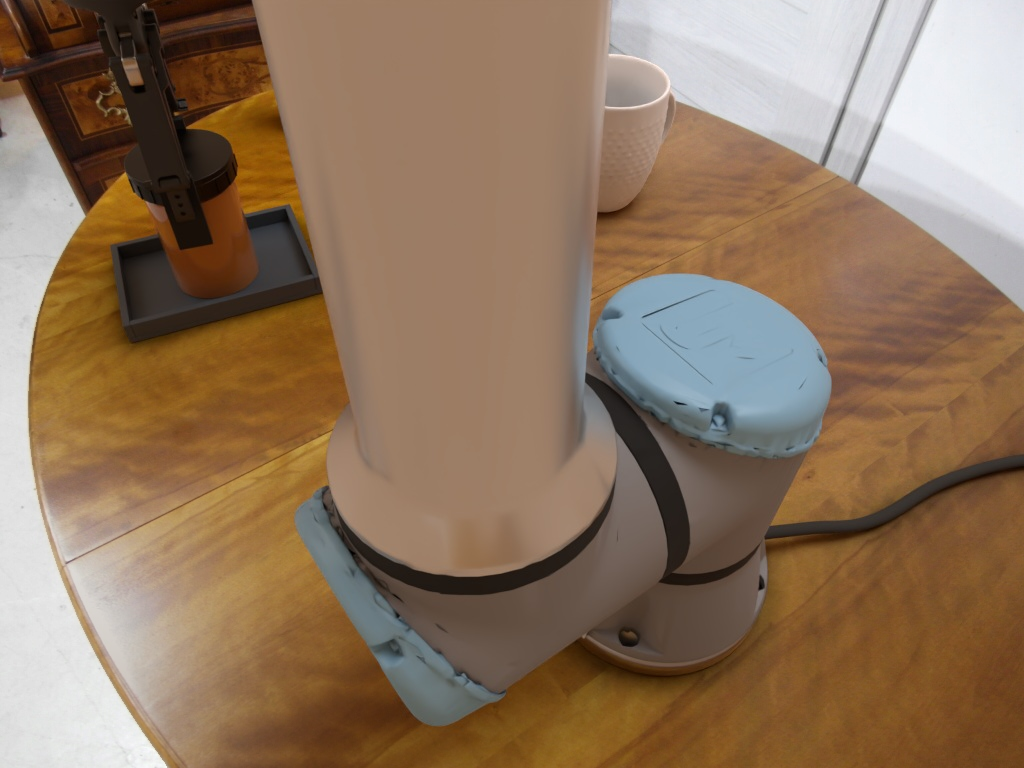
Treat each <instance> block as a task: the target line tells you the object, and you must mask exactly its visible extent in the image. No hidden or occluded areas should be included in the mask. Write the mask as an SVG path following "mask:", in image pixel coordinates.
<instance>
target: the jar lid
mask: <svg viewBox="0 0 1024 768" xmlns="http://www.w3.org/2000/svg"><path fill="white" fill-rule="evenodd" d="M176 133H177V137H178V140H179V144H180V147H181V150H182V154H183V157H184V161H185V164H186V168H187V170H188V171H189V172H190V173H191V175H192V178H193V181H194V184H195V187H196V190H197V193H198V196H199V199H200V202H201V201H205V200H207V199H210V198H212V197H214V196H216V195H218V194H220V193H221V192H223V191H224V190H226V189H227V188H228V187H229V186H230V185H231V184H232V183H233V181H234V180H235V181H236V178H237V176H238V168H239V165H238V160H237V158H236V154H235V153H234V150H233V147H232V144H231V142H230V141H229V140H228V139H227V138H226V137H225V136H223V135H221V133H220V134H219V133H218V132H215V131H212V130H208V129H199V128H186V129H180V130H176ZM123 168H124V171H125V174H126V176H127V179H128V183H129V185H130V187H131V190H132V192H133V193H134V194H135V195H136V196H137V197H138V198H139V199H141V200H143V201H144V200H145V201H147V202H149V203H153V204H156V205H163V203H162V200H161V198H160V195H159V193H158V194H156V193H155V192H154V189H148V190H147V189H146V187H145V184H144V182H145V181H146V180H151V179H150V176H149V173H148V170H147V167H146V164H145V162H144V159H143V156H142V153H141V150H140V147H139V144H138V143H137V144H136V145H134V146H133V147H132V148H131V149H130V150H129V151H128V152H127V154H126V156H125V157H124V161H123Z"/></svg>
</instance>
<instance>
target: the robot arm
mask: <svg viewBox="0 0 1024 768" xmlns="http://www.w3.org/2000/svg"><path fill="white" fill-rule="evenodd" d="M60 1H61V2H63V3H64V4H65V5H66V6H68V7H71V8H73V9H76V10H80V11H90V12H93V13H96V14H97V15H96V19H97V23H98V27H99V29H97V31H96V32H97V37H98V40H99V43H100V47H101V50H102V52H103V54H104V55H106V57H108V68H109V70H110V72H112V74H113V76H114V77H113V78H114V79H115V82H116V86H117V89H118V91H119V92H120V94H121V97H122V100H123V103H124V105H125V108H126V109H125V110H126V112H127V115H128V118H129V120H130V124H131V126H132V129H133V132H134V135H135V137H136V140H137V144H139V147H140V150H141V153H142V156H143V159H144V162H145V164H146V167H147V170H148V173H149V176H150V179H151V180H146V181H145V182H144V184H145V187H146V189H147V190H148V189H154V192H155V193H156V194H158V193H159V195H160V198H161V200H162V203H163V206H164V208H165V211H166V214H167V217H168V219H169V222H170V225H171V227H172V230H173V233H174V235H175V238H176V241H177V243H178V246H179V249H180V250H184V249H190V248H195V247H200V246H206V245H211V244H213V239H212V236H211V233H210V230H209V227H208V224H207V221H206V218H205V215H204V211H203V208H202V205H201V202H200V199H199V196H198V193H197V190H196V187H195V184H194V181H193V178H192V175H191V173H190V172H189V171H188V170H187V168H186V164H185V161H184V157H183V154H182V150H181V147H180V144H179V140H178V137H177V133H176V130H180V129H187V126H186V123H185V119H184V117H183V115H182V114H179V115H176V113H181V112H182V113H183V112H188V111H189V106H188V102H187V98H186V97H180V98H177V97H176V93H177V92H176V91H177V88H176V85H175V84H174V83H173V80H172V77H171V74H170V71H169V68H168V65H167V62H166V54H165V49H164V48H165V47H164V44H163V40H162V38H161V35H160V34H161V30H160V25H159V20H158V17H157V14H156V11H155V9H154V8H148V5H147V4H151V3H154V2H155V1H156V0H60ZM251 3H252V7H253V10H254V15H255V19H256V23H257V28H258V32H259V36H260V40H261V44H262V48H263V53H264V56H265V60H266V64H267V69H268V72H269V77H270V80H271V85H272V88H273V89H272V90H273V93H274V97H275V102H276V106H277V110H278V113H279V119H280V118H281V119H280V122H282V123H281V127H282V130H283V135H284V138H285V142H286V145H287V146H286V147H287V151H288V154H289V159H290V162H291V166H292V171H293V175H294V180H295V183H296V189H297V191H298V196H299V200H300V204H301V207H302V212H303V217H304V220H305V224H306V228H307V232H308V237H309V240H310V245H311V249H312V253H313V257H314V262H315V265H316V267H317V270H318V274H319V278H320V282H321V286H322V290H323V293H322V294H323V298H324V301H325V306H326V311H327V315H328V318H329V323H330V327H331V331H332V336H333V339H334V343H335V347H336V352H337V355H338V360H339V364H340V368H341V372H342V376H343V381H344V385H345V389H346V392H347V396H348V400H349V401H348V403H347V404H346V405H345V407H344V408H343V409H342V412H341V413H340V415H339V416H338V417H337V419H336V421H335V424H334V426H333V428H332V431H331V433H330V435H329V440H328V444H327V448H326V456H325V457H326V459H325V469H326V478H327V483H328V485H327V484H326V485H324V486H321V487H319V488H317V489H316V490H315V491H314V492H313V493H312V495H311V497H310V498H308V499H307V500H305V501H303V502H302V503H301V504H300V505H299V506H298V507H297V508H296V510H295V513H294V517H293V518H294V524H295V528H296V531H297V533H298V536H299V537H300V539H301V541H302V543H303V544H304V546H305V548H306V550H307V551H308V553H309V555H310V556H311V558H312V560H313V561H314V563H315V565H316V566H317V568H318V570H319V572H320V573H321V575H322V576H323V578H324V580H325V581H326V583H327V585H328V586H329V588H330V589H331V591H332V593H333V594H334V596H335V598H336V599H337V601H338V602H339V604H340V606H341V607H342V609H343V610H344V612H345V614H346V615H347V618H348V619H349V621H350V622H351V623H352V625H353V627H354V628H355V630H356V631H357V633H358V634H359V636H360V637H361V638H362V639H363V641H364V642H365V644H366V646H367V648H368V649H369V651H370V652H371V654H372V655H373V657H374V658H375V659H376V661H377V662H378V665H379V667H380V668H381V670H382V672H383V673H384V675H385V676H386V678H387V679H388V682H389V683H390V685H391V686H392V688H393V689H394V691H395V692H396V694H397V695H398V696H399V698H400V699H401V701H402V702H403V704H404V705H405V707H406V708H407V709H408V711H409V712H410V714H412V716H413V717H414V718H416V719H417V720H418V721H420V722H421V723H422V724H425V725H428V726H431V727H445V726H449V725H452V724H454V723H456V722H458V721H460V720H462V719H463V718H465V717H466V716H468V715H470V714H472V713H474V712H476V711H477V710H479V709H481V708H483V707H484V706H486V705H489V704H491V703H498V702H499V701H501V700H502V699H503V698H504V697H506V695H507V692H508V688H510V687H511V686H512V685H514V684H515V683H517V682H518V681H520V680H521V679H523V678H524V677H526V676H527V675H528V674H530V673H531V672H533V671H534V670H535V669H537V668H538V667H540V666H541V665H543V664H544V663H545V662H547V661H548V660H550V659H552V658H553V657H554V656H556V655H557V654H559V653H560V652H562V651H564V649H566V648H567V647H568V646H570V645H572V644H573V643H574V642H577V643H578V644H580V645H581V646H582V647H583V648H584V649H586V650H587V651H589V652H590V653H592V655H595V656H596V657H597V658H600V660H603V661H605V662H607V663H609V664H611V665H613V666H616V667H618V668H620V669H624V670H627V671H630V672H633V673H638V674H643V675H649V676H650V675H651V676H663V677H665V676H666V677H668V676H680V675H685V674H686V675H687V674H691V673H694V672H695V673H696V672H699V671H702V670H704V669H708V668H709V667H712V666H714V665H715V664H717V663H720V662H721V661H723V660H724V659H725V658H727V657H728V656H730V655H731V654H732V653H733V652H735V650H737V649H738V648H739V646H740V645H741V644H742V643H743V642H744V641H745V640H746V638H747V636H748V635H749V634H750V632H751V631H752V629H753V627H754V625H755V623H756V622H757V620H758V618H759V616H760V614H761V613H762V610H763V607H764V605H765V602H766V599H767V594H768V588H769V564H768V563H769V562H768V558H767V549H766V540H775V539H784V538H785V539H786V538H792V537H802V536H803V537H804V536H810V535H811V536H812V535H832V534H849V533H850V534H851V533H855V532H861V531H866V530H870V529H872V528H875V527H878V526H880V525H883V524H885V523H887V522H889V521H891V520H893V519H896V518H897V517H899V516H901V515H903V514H904V513H906V512H907V511H908V510H910V509H912V508H914V507H915V506H917V505H918V504H919V503H921V502H923V501H924V500H925V499H927V498H929V497H930V496H932V495H934V494H936V493H937V492H940V491H941V490H944V489H946V488H949V487H951V486H953V485H956V484H959V483H962V482H964V481H968V480H971V479H974V478H977V477H980V476H983V475H986V474H990V473H995V472H1000V471H1003V470H1009V469H1013V468H1014V469H1015V468H1020V467H1024V453H1021V454H1015V455H1010V456H1004V457H998V458H994V459H991V460H987V461H982V462H979V463H975V464H972V465H969V466H968V465H967V466H965V467H963V468H959V469H956V470H954V471H950V472H948V473H945V474H943V475H940V476H937V477H935V478H933V479H931V480H929V481H927V482H925V483H923V484H921V485H920V486H918V487H916V488H915V489H913V490H911V491H910V492H909V493H907V494H905V495H903V496H902V497H900V498H899V499H898V500H896V501H895V502H893V503H891V504H890V505H888V506H885V507H884V508H882V509H880V510H878V511H875V512H873V513H871V514H868V515H865V516H861V517H857V518H852V519H842V520H837V519H836V520H815V521H814V520H811V521H803V522H792V523H783V524H774V525H772V523H773V521H774V518H775V517H776V515H777V513H778V511H779V509H780V507H781V505H782V503H783V502H784V499H785V497H786V496H787V494H788V492H789V490H790V488H791V487H792V484H793V482H794V480H795V478H796V476H797V474H798V472H799V470H800V468H801V467H802V464H803V463H804V460H805V459H806V456H807V454H808V453H809V451H810V450H811V449H812V446H813V445H814V444H815V443H816V442H817V441H818V440H819V438H820V434H821V432H822V429H823V428H822V426H823V418H824V415H825V413H826V410H827V408H828V405H829V402H830V399H831V395H832V382H833V381H832V375H831V373H830V371H829V368H828V365H829V363H828V359H827V356H826V353H825V351H824V350H823V348H822V346H821V344H820V342H819V341H818V339H817V338H816V337H815V335H814V334H813V333H812V331H811V330H810V329H809V328H808V327H807V326H806V325H805V324H804V323H803V322H802V321H801V320H800V319H799V318H798V317H797V316H796V315H794V313H793V312H791V311H790V310H789V309H787V308H786V307H784V306H783V305H781V304H780V303H779V302H777V301H775V300H773V299H772V298H770V297H768V296H767V295H765V294H762V293H760V292H759V291H756V290H754V289H752V288H750V287H749V286H745V285H742V284H740V283H737V282H734V281H730V280H726V279H725V280H724V279H718V278H714V277H711V276H708V275H703V274H697V273H683V272H681V273H663V274H656V275H651V276H648V277H644V278H640V279H638V280H635V281H632V282H630V283H629V284H626V285H624V286H623V287H621V288H620V289H619V290H618V291H617V292H615V293H614V294H613V295H612V296H611V297H610V298H609V299H608V301H606V303H605V305H604V307H603V309H602V311H601V314H600V315H599V316H598V318H597V321H596V323H595V326H594V328H593V331H592V345H593V346H592V348H591V349H590V350H589V351H588V345H589V344H588V343H589V330H590V329H589V328H590V317H591V316H590V315H591V303H592V302H591V301H592V289H593V277H594V276H593V273H594V263H595V262H594V259H595V245H596V235H597V220H598V212H597V207H598V194H599V180H600V166H601V152H602V139H603V125H604V111H605V97H606V84H607V70H608V56H609V54H610V42H611V28H612V15H613V0H251Z"/></svg>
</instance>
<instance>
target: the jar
mask: <svg viewBox="0 0 1024 768" xmlns="http://www.w3.org/2000/svg"><path fill="white" fill-rule="evenodd" d="M143 201H144V205H145V207H146V209H147V211H148V214H149V216H150V219H151V221H152V224H153V227H154V229H155V231H156V234H158V237H159V239H160V242H161V244H162V247H163V249H164V252H165V254H166V257H167V259H168V262H169V264H170V267H171V269H172V272H173V274H174V277H175V279H176V282H177V284H178V286H179V288H180V289H181V290H182V291H184V292H185V293H187V294H188V295H191V296H194V297H198V298H207V299H210V298H220V297H225V296H228V295H232V294H234V293H237V292H239V291H241V290H242V289H244V288H246V287H247V286H248V285H249V284H250V283H252V282H253V280H254V279H255V278H256V276H257V274H258V271H259V262H258V258H257V255H256V252H255V248H254V245H253V241H252V238H251V234H250V231H249V227H248V224H247V220H246V217H245V214H246V213H245V211H244V206H243V204H242V200H241V197H240V193H239V189H238V186H237V182H236V179H235V180H234V181H233V183H232V184H231V185H230V186H229V187H228V188H227V189H226V190H224V191H223V192H221V193H220V194H218V195H216V196H214V197H212V198H210V199H207V200H205V201H201V205H202V208H203V211H204V215H205V218H206V221H207V224H208V227H209V230H210V233H211V236H212V239H213V244H211V245H206V246H200V247H195V248H190V249H184V250H180V249H179V246H178V243H177V241H176V238H175V235H174V233H173V230H172V227H171V225H170V222H169V219H168V217H167V214H166V211H165V208H164V206H163V205H156V204H153V203H149V202H147V201H145V200H143Z"/></svg>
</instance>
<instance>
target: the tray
mask: <svg viewBox="0 0 1024 768" xmlns="http://www.w3.org/2000/svg"><path fill="white" fill-rule="evenodd" d="M245 217H246V220H247V224H248V227H249V231H250V234H251V238H252V241H253V245H254V248H255V252H256V255H257V258H258V262H259V271H258V274H257V276H256V278H255V279H254V280H253V282H252V283H250V284H249V285H248V286H247V287H246V288H244V289H242V290H241V291H239V292H237V293H234V294H232V295H228V296H225V297H220V298H210V299H207V298H198V297H194V296H191V295H188V294H187V293H185V292H184V291H182V290H181V289H180V288H179V286H178V284H177V282H176V279H175V277H174V274H173V272H172V269H171V267H170V264H169V262H168V259H167V257H166V254H165V252H164V249H163V247H162V244H161V242H160V239H159V237H158V234H157V233H156V234H152V235H147V236H143V237H139V238H134V239H130V240H126V241H122V242H117V243H113V244H110V245H109V249H110V254H111V260H112V268H113V272H114V278H115V279H114V280H115V285H116V291H117V298H118V304H119V310H120V311H119V312H120V317H121V324H122V328H123V331H124V332H125V334H126V336H127V339H128V340H129V342H130V343H131V344H134V343H138V342H141V341H145V340H149V339H152V338H157V337H160V336H163V335H164V336H165V335H168V334H171V333H172V334H173V333H176V332H179V331H182V330H186V329H190V328H194V327H198V326H202V325H206V324H210V323H214V322H217V321H220V320H224V319H225V320H226V319H228V318H232V317H236V316H240V315H243V314H247V313H251V312H255V311H258V310H262V309H266V308H270V307H273V306H277V305H281V304H285V303H288V302H293V301H295V300H301V299H304V298H309V297H311V296H315V295H319V294H323V290H322V286H321V282H320V278H319V274H318V270H317V266H316V262H315V259H314V258H313V257H314V256H313V255H312V252H311V250H310V248H309V246H308V244H307V241H306V239H305V237H304V234H303V232H302V229H301V227H300V225H299V222H298V219H297V218H296V215H295V212H294V211H293V208H292V206H291V204H290V203H288V204H283V205H278V206H275V207H270V208H266V209H262V210H257V211H252V212H247V213H245Z"/></svg>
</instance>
